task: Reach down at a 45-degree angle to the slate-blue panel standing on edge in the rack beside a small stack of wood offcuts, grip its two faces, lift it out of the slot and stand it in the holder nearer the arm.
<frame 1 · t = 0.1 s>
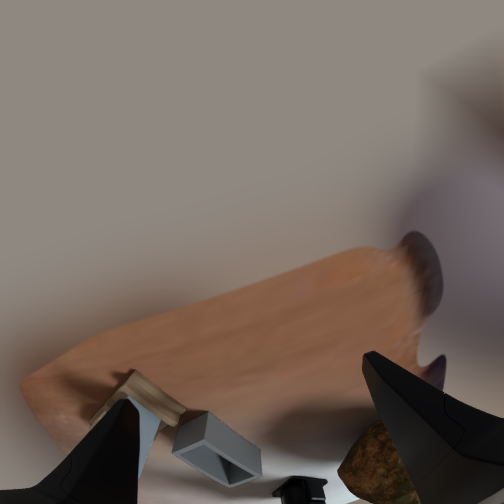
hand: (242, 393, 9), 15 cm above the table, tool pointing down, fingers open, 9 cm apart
panel: (142, 409, 25), point 1 cm above the table, touching rack
rock: (375, 427, 27), on the table
rack: (143, 406, 26), on the table
holder: (220, 440, 27), on the table
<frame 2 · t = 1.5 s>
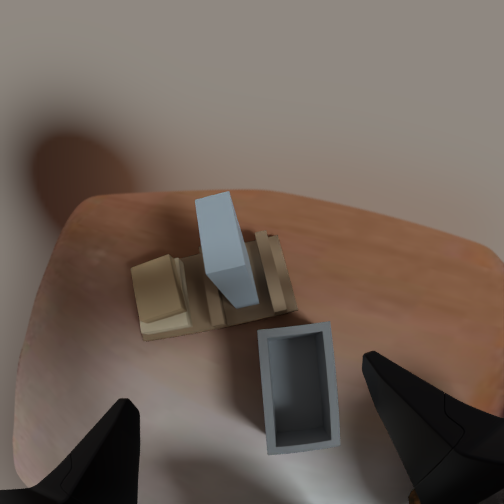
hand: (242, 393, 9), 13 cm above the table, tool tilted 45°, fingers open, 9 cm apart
panel: (242, 281, 23), point 1 cm above the table, touching rack
rack: (243, 283, 24), on the table
holder: (296, 384, 20), on the table
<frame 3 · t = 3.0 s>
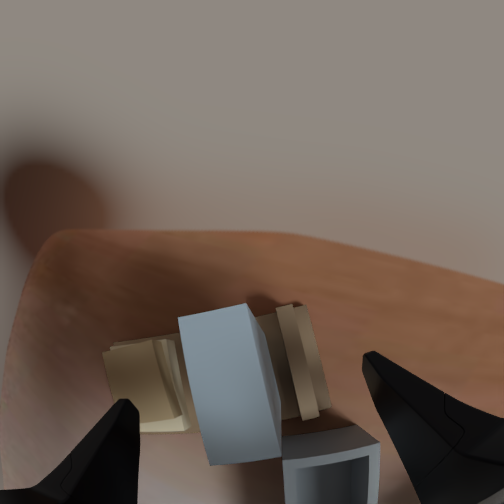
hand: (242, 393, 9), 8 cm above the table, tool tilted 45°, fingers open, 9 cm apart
panel: (257, 372, 16), point 1 cm above the table, touching rack
rack: (257, 371, 16), on the table
holder: (322, 486, 12), on the table
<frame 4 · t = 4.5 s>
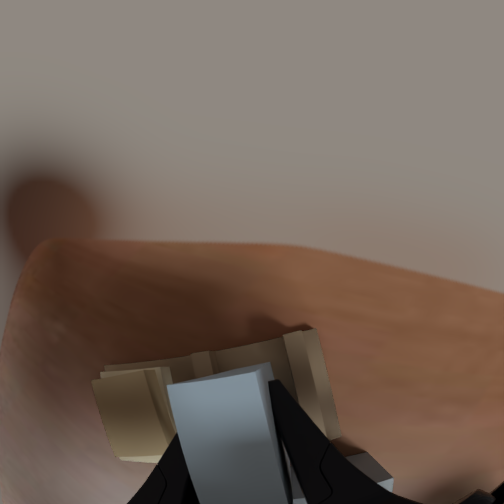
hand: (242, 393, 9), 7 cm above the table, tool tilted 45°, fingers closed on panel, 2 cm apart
panel: (261, 401, 14), point 1 cm above the table, touching gripper, rack
rack: (262, 400, 14), on the table
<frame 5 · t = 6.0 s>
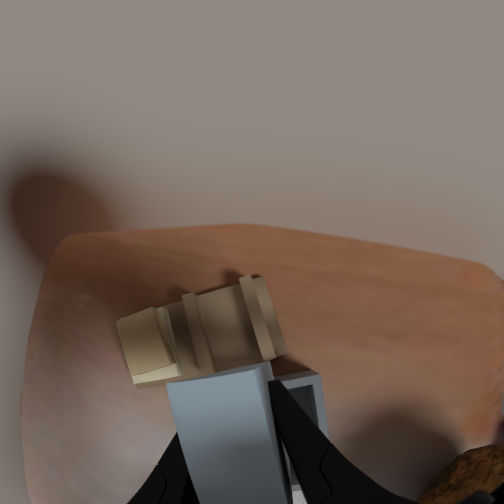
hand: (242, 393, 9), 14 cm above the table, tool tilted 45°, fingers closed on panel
panel: (261, 401, 14), point 8 cm above the table, touching gripper
rock: (442, 481, 14), on the table
rack: (230, 328, 23), on the table
holder: (290, 424, 19), on the table
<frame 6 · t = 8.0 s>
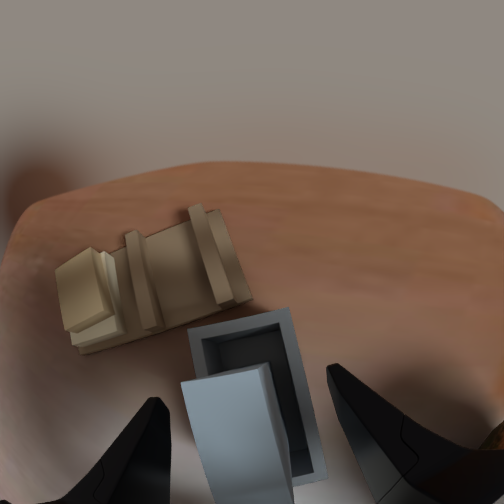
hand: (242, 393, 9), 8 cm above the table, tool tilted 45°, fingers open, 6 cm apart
panel: (262, 399, 15), point 1 cm above the table, touching holder
rock: (474, 466, 10), on the table
rack: (182, 273, 19), on the table
holder: (263, 397, 15), on the table
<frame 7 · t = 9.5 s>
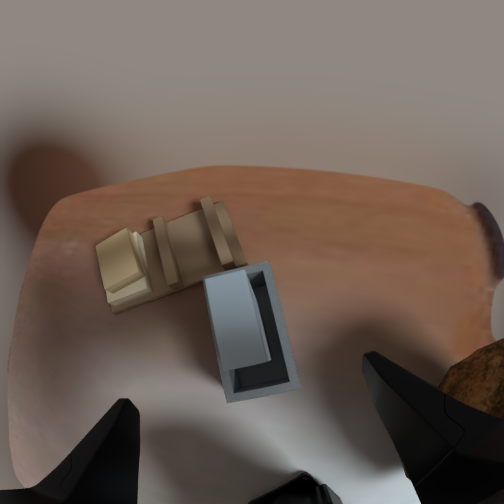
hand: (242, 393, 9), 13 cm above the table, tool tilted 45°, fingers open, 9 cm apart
panel: (253, 336, 21), point 1 cm above the table, touching holder
rock: (440, 417, 17), on the table
rack: (195, 247, 26), on the table
holder: (254, 336, 22), on the table
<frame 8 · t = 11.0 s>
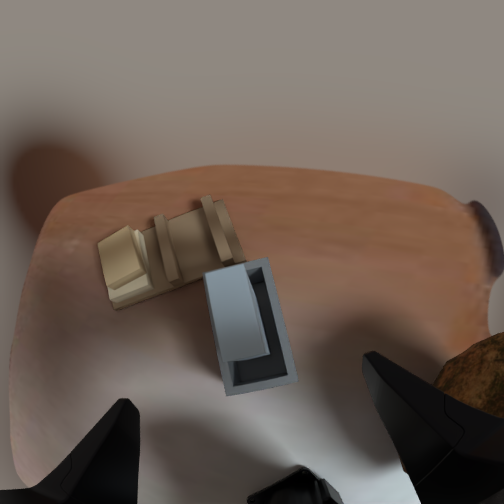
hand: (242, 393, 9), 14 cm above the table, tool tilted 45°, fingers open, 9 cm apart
panel: (252, 331, 22), point 1 cm above the table, touching holder
rock: (438, 413, 17), on the table
rack: (196, 244, 26), on the table
holder: (253, 331, 23), on the table
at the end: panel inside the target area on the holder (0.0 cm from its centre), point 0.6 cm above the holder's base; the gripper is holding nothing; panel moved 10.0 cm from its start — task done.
